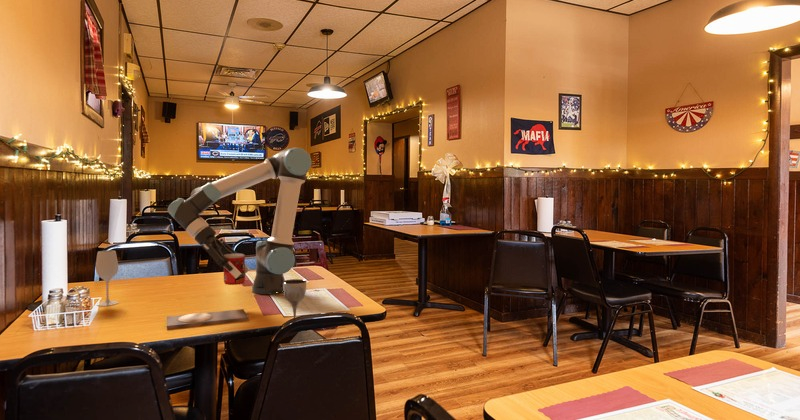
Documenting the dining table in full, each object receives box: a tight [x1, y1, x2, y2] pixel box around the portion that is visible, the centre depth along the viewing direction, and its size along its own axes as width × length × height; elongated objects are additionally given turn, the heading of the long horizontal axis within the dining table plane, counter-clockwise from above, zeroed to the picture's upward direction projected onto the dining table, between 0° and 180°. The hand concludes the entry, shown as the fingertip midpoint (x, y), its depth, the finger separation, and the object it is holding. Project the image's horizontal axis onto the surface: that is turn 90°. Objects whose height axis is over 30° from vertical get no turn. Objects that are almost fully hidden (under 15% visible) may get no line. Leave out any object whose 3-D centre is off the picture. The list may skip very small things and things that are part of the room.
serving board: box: [166, 308, 249, 330], centre depth 168 cm, size 26×12×2 cm, turn 116°
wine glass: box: [283, 278, 307, 319], centre depth 165 cm, size 8×8×15 cm
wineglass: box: [95, 249, 119, 307], centre depth 188 cm, size 8×8×21 cm
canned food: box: [223, 252, 246, 286], centre depth 184 cm, size 8×8×11 cm
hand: (242, 273), depth 184 cm, fingers closed on canned food, 8 cm apart
